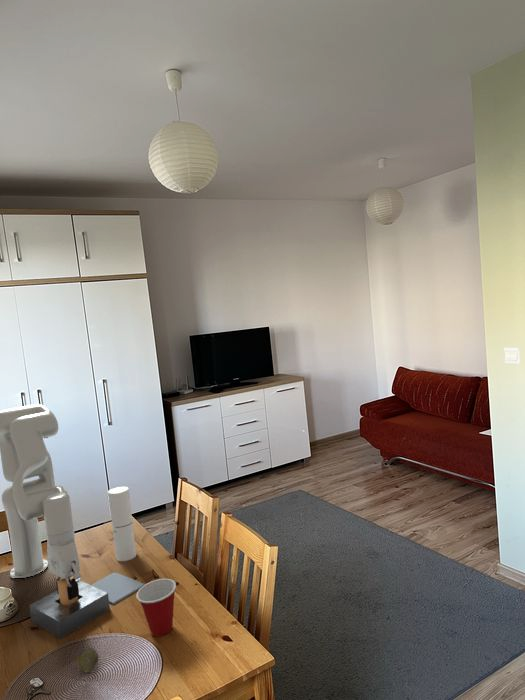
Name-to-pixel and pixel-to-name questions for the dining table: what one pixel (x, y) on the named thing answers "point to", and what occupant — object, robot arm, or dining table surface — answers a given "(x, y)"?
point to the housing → (69, 610)
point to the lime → (88, 660)
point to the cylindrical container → (122, 523)
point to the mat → (117, 586)
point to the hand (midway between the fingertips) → (68, 594)
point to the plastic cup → (158, 605)
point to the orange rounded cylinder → (64, 592)
